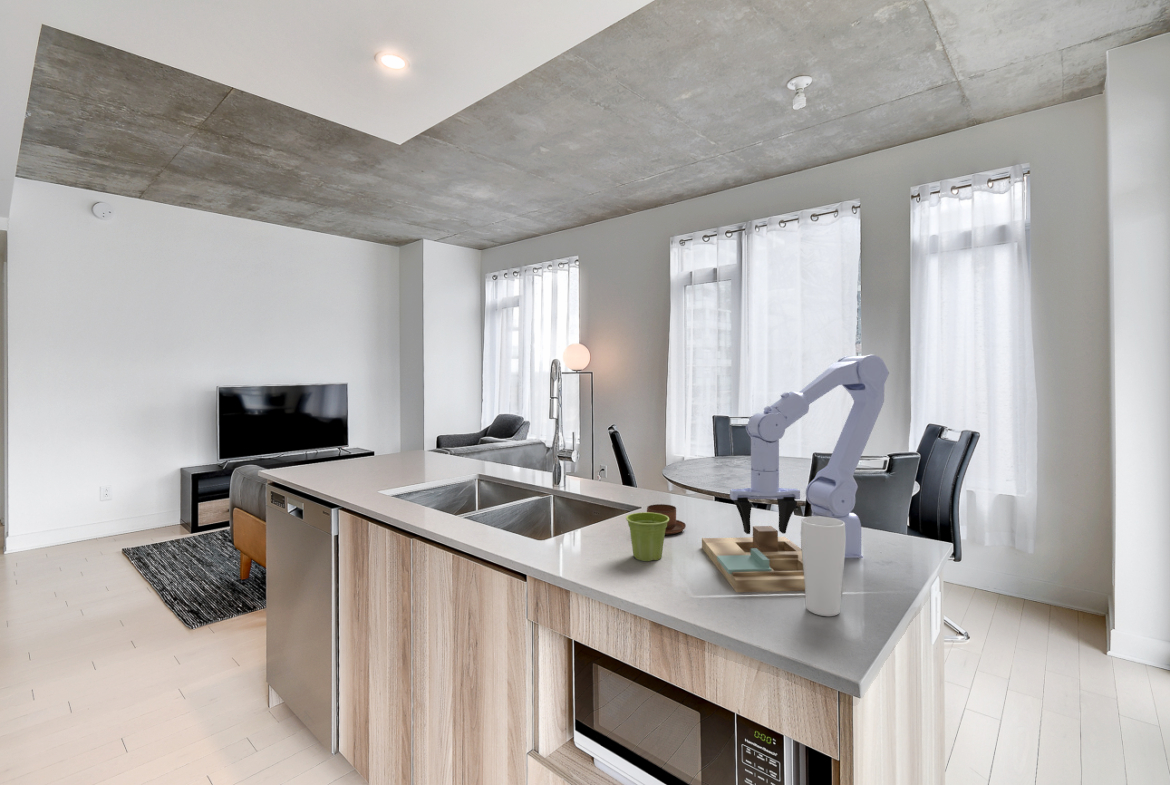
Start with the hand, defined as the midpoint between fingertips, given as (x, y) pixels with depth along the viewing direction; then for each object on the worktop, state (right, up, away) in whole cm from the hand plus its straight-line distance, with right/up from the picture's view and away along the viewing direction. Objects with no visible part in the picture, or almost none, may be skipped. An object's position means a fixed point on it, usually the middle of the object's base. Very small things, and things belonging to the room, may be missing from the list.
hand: (764, 532), depth 118 cm
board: (-2, -6, -6) cm, 8 cm away
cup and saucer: (-19, -6, +22) cm, 29 cm away
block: (0, -5, 0) cm, 5 cm away
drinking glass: (+1, -6, -27) cm, 28 cm away
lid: (-8, -3, -12) cm, 15 cm away
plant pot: (-25, -6, +1) cm, 26 cm away
